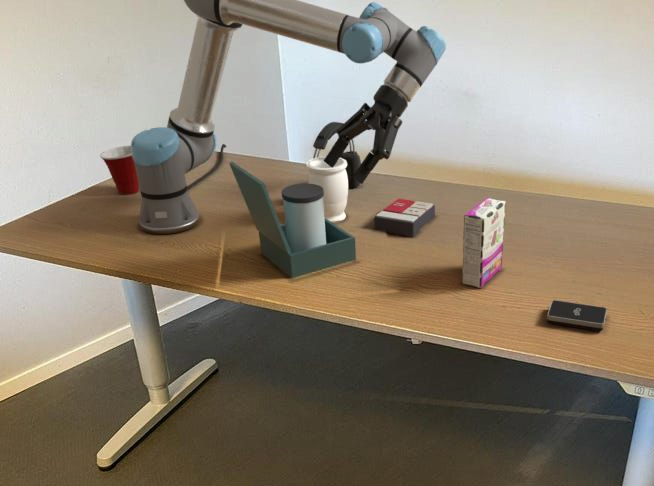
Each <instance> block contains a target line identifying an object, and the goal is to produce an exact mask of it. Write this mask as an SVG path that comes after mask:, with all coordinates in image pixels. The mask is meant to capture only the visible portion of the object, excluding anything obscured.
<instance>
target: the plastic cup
mask: <svg viewBox="0 0 654 486" xmlns="http://www.w3.org/2000/svg"><path fill="white" fill-rule="evenodd" d="M99 156H100V158H101V159H102V160H103V161H104V163H105V165H106V167H107V169H108V171H109V173H110V176H111V178H112V181H113V183H114V184H115V187H116V189H117V192H118V193H119V194H121V195H133V194H136V193H138V192H139V191H140V187H139V183H138V178H137V173H136V169H135V164H134V160H133V158H132V148H131V145H121V146H116V147H112V148H110V149H107V150H105V151H103V152H102V153H100V154H99Z"/></svg>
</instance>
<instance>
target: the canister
mask: <svg viewBox="0 0 654 486" xmlns="http://www.w3.org/2000/svg"><path fill="white" fill-rule="evenodd" d="M323 196H324V190H323V188H322V187H321V186H319V185H316V184H308V182H305V183H294V184H290V185H288V186H286V187H283V189H282V190H281V198H282V204H283V213H284V222H285V223H284V224H286V233H287V243H288V245H289V248H290V251H291V253H296V252H299V251H303V250H307V249H310V248H314V247H317V246H321V245H325V244H326V232H325V218H324V203H323Z"/></svg>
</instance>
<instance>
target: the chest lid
mask: <svg viewBox="0 0 654 486" xmlns="http://www.w3.org/2000/svg"><path fill="white" fill-rule="evenodd" d="M228 164H229V167H230V169H231V171H232V174H233V176H234V179H235V181H236V183H237V186H238V188H239V190H240V193H241V195H242V198H243V201H244V202H245V206H246V207H247V210H248V213H249V214H250V217H251V219H252V221H253V224H254V227H255V229H256V231H258V233H259V232H261V233H262V234H263V235H264V236H266V237H267V238H268V239H269V240H271V241H272V242H273V243H274V244H276V245H277V246H278V247H280V248H281V249H282V250H283V251H285V252H286V253H287V254H290V253H291V251H290V248H289V245H288V243H287V240H286V238H285V235H284V233H283V230H282V227H281V225H282V224H281V222H280V220H279V217H278V215H277V212H276V210H275V207H274V204H273V201H272V199H271V197H270V194H269V192H268V189H267V186H266V183H265V182H263V180H261V179H259V178H257V177H256V176H255V175H253V174H252V173H250V172H249V171H248V170H246V169H244V168H243V167H241V166H240V165H238V164H237V163H236V162H234V161H230V162H228Z"/></svg>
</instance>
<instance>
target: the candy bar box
mask: <svg viewBox="0 0 654 486" xmlns="http://www.w3.org/2000/svg"><path fill="white" fill-rule="evenodd" d="M506 202H507V201H506V200H502V199H496V198H492V197H485V198H484V199H482V201H480V202H478V204H476V205H475V206H474V207H472V208H471V209H470V210H468V211H467V212H466V213H464V215H463V238H462V239H463V242H462V245H463V246H462V247H463V248H462V275H461V277H462V278H461V279H462V281H461V283H462V284H463V285H466V286H469V287H473V288H474V287H475V288H478V289H482V288H483V287H484V286H485V285H487V284H488V282H489V281H490V280H491V279H492V278H493V277H495V275H496V274H498V273H499V272H500V271H501V270H503V269H502V268H503V250H504V235H505V220H506V219H505V218H506V205H507V204H506Z"/></svg>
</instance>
